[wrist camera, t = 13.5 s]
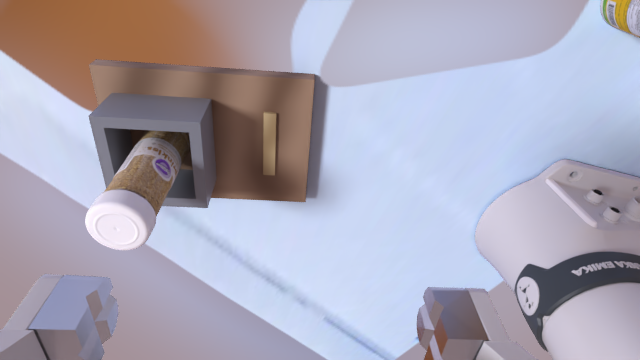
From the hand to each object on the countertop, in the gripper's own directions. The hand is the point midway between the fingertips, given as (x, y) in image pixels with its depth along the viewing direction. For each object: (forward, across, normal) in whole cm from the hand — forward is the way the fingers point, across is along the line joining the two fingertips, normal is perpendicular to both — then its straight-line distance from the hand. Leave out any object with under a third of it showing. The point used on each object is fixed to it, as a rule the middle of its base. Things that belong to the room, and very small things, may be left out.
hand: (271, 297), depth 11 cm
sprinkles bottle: (+30, +12, +12) cm, 34 cm away
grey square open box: (+30, +12, +12) cm, 34 cm away
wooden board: (+31, +8, +12) cm, 34 cm away
